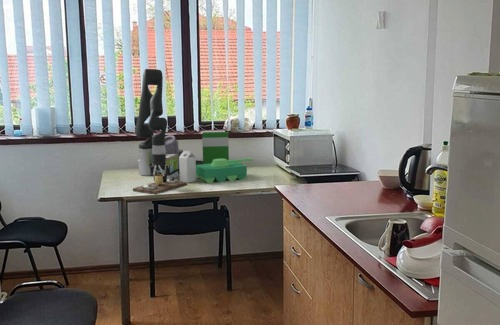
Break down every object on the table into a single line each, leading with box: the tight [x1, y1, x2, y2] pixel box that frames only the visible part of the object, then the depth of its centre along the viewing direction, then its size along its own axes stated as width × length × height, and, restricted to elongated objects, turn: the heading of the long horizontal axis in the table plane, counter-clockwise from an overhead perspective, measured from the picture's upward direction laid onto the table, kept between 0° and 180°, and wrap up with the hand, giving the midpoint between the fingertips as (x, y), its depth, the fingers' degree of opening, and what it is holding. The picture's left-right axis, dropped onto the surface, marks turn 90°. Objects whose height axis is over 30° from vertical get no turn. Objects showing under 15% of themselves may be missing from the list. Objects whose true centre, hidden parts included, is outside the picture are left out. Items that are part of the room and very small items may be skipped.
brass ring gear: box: [154, 174, 166, 184], centre depth 305 cm, size 6×6×4 cm
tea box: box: [157, 154, 179, 179], centre depth 331 cm, size 15×10×15 cm
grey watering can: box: [165, 134, 184, 175], centre depth 354 cm, size 30×16×24 cm, turn 161°
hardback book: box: [201, 131, 230, 164], centre depth 367 cm, size 18×7×24 cm, turn 92°
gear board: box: [132, 177, 188, 195], centre depth 306 cm, size 16×28×6 cm, turn 148°
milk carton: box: [179, 149, 197, 184], centre depth 321 cm, size 7×7×19 cm
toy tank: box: [196, 157, 254, 184], centre depth 330 cm, size 18×12×35 cm
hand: (160, 181), depth 306 cm, fingers closed on brass ring gear, 6 cm apart
